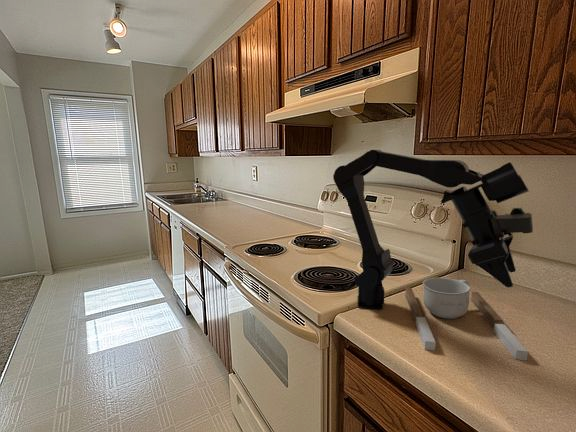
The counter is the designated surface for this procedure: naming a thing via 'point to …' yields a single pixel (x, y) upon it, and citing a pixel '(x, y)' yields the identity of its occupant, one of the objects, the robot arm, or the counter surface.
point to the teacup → (446, 297)
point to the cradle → (475, 298)
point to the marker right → (510, 342)
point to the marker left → (425, 333)
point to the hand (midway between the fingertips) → (511, 278)
